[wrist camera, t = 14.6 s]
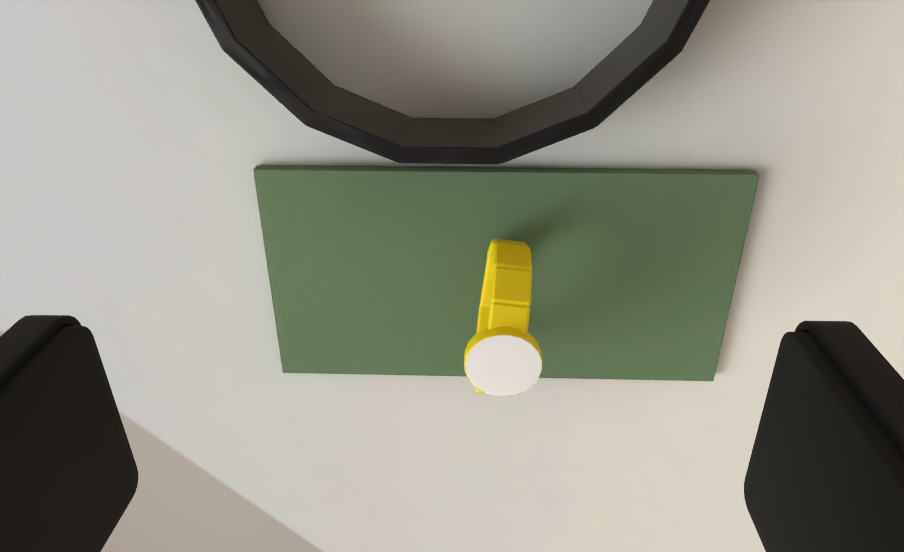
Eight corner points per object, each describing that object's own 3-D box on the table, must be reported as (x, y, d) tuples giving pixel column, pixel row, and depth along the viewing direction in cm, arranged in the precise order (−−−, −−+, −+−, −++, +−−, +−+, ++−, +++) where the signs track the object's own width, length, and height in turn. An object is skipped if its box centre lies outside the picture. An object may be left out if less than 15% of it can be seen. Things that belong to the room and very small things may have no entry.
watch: (475, 214, 28) (475, 285, 22) (543, 222, 28) (558, 294, 22) (458, 336, 30) (455, 425, 25) (520, 343, 30) (528, 433, 25)
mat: (755, 170, 27) (759, 174, 26) (710, 375, 31) (713, 381, 31) (256, 165, 27) (252, 169, 27) (285, 366, 32) (282, 373, 32)
